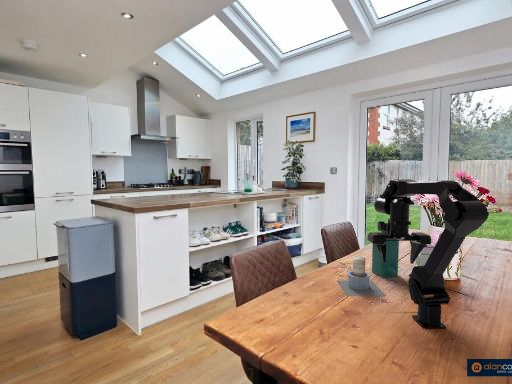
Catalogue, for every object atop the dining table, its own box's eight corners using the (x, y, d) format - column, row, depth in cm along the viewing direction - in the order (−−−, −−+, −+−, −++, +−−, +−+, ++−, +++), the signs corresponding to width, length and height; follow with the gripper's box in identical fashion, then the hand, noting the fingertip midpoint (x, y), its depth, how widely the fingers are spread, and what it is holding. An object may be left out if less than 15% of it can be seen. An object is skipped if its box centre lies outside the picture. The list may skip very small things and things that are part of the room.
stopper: (364, 287, 108) (364, 260, 107) (351, 285, 110) (352, 259, 109) (365, 282, 112) (365, 257, 111) (353, 281, 114) (353, 256, 113)
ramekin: (372, 290, 107) (372, 278, 107) (350, 289, 107) (351, 277, 107) (365, 281, 115) (365, 270, 115) (345, 281, 115) (345, 270, 115)
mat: (386, 297, 102) (386, 296, 102) (346, 296, 103) (346, 295, 102) (372, 281, 116) (372, 280, 116) (336, 281, 116) (336, 280, 116)
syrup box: (435, 280, 117) (436, 245, 116) (419, 279, 118) (420, 244, 117) (429, 275, 122) (431, 241, 121) (414, 274, 124) (415, 241, 123)
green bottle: (382, 278, 119) (384, 225, 118) (369, 271, 127) (371, 221, 126) (402, 276, 122) (404, 224, 120) (388, 269, 130) (390, 220, 128)
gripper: (415, 213, 105) (413, 256, 106) (362, 213, 105) (361, 256, 106) (433, 218, 94) (431, 266, 95) (374, 218, 94) (372, 266, 95)
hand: (397, 263), depth 98 cm, fingers open, 9 cm apart
